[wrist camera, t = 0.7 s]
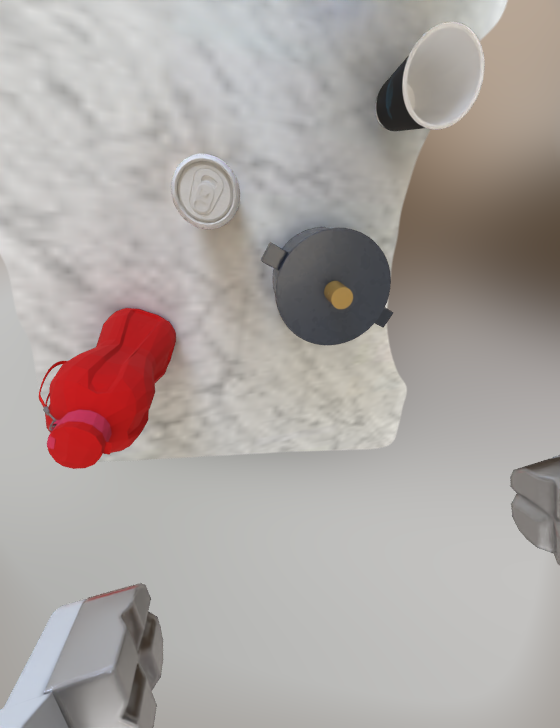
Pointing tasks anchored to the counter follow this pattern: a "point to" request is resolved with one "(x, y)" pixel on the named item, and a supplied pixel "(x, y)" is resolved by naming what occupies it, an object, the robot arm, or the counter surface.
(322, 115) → the counter surface
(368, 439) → the counter surface
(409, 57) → the dixie cup
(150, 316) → the water bottle
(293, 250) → the pot lid
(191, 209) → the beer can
